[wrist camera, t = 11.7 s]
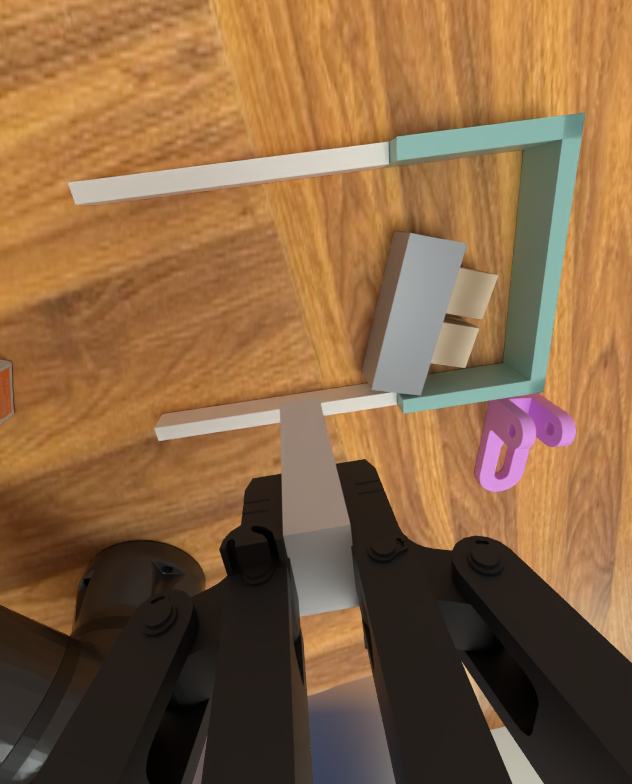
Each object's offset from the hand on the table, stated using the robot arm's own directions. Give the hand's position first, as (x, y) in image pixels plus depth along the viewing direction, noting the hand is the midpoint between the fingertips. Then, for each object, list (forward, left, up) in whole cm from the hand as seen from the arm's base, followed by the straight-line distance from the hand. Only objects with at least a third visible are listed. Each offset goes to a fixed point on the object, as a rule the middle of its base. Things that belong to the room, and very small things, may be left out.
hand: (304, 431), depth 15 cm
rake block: (+11, -2, -25) cm, 27 cm away
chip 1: (+16, -1, -25) cm, 29 cm away
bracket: (+23, -20, -25) cm, 40 cm away
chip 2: (+15, -5, -25) cm, 29 cm away
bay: (+17, 0, -24) cm, 29 cm away
